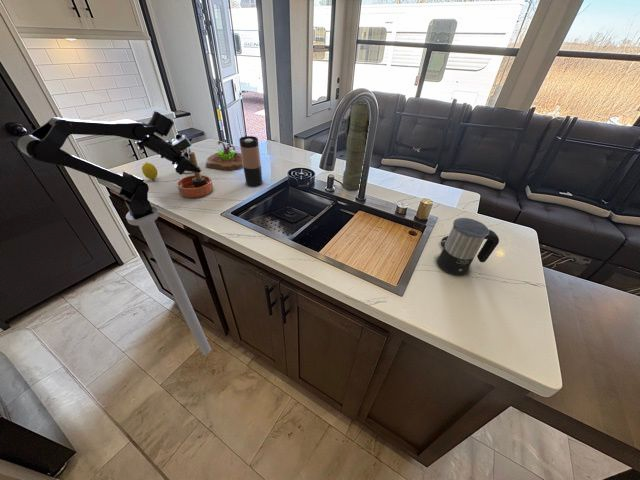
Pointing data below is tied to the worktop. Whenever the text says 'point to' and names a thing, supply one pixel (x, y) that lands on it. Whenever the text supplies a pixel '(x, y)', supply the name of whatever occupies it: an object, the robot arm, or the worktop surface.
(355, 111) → the green banded column
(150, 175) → the lemon
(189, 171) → the beer glass
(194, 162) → the dish brush
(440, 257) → the milk frother
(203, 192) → the bowl
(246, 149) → the travel mug
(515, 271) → the worktop surface
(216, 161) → the plant
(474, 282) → the worktop surface
